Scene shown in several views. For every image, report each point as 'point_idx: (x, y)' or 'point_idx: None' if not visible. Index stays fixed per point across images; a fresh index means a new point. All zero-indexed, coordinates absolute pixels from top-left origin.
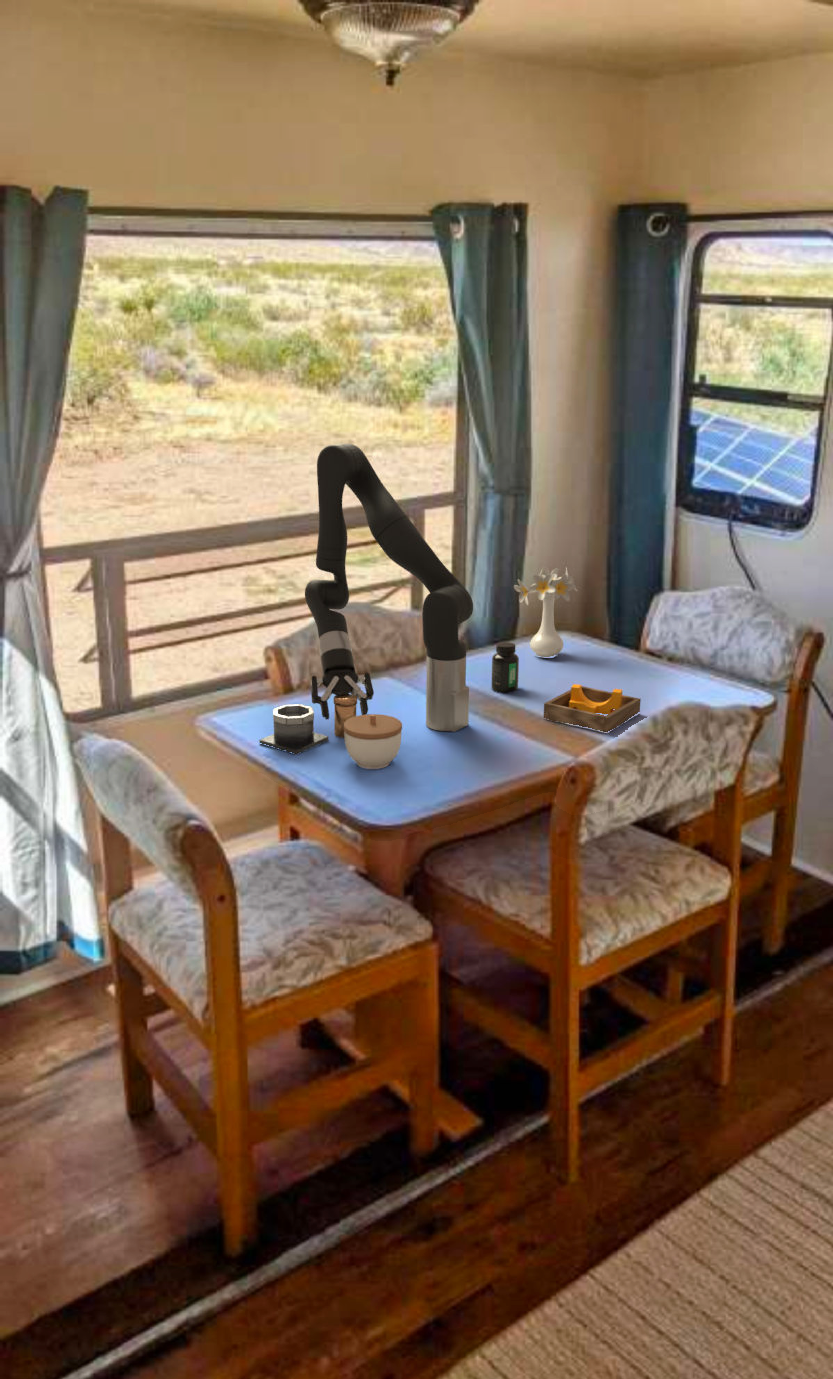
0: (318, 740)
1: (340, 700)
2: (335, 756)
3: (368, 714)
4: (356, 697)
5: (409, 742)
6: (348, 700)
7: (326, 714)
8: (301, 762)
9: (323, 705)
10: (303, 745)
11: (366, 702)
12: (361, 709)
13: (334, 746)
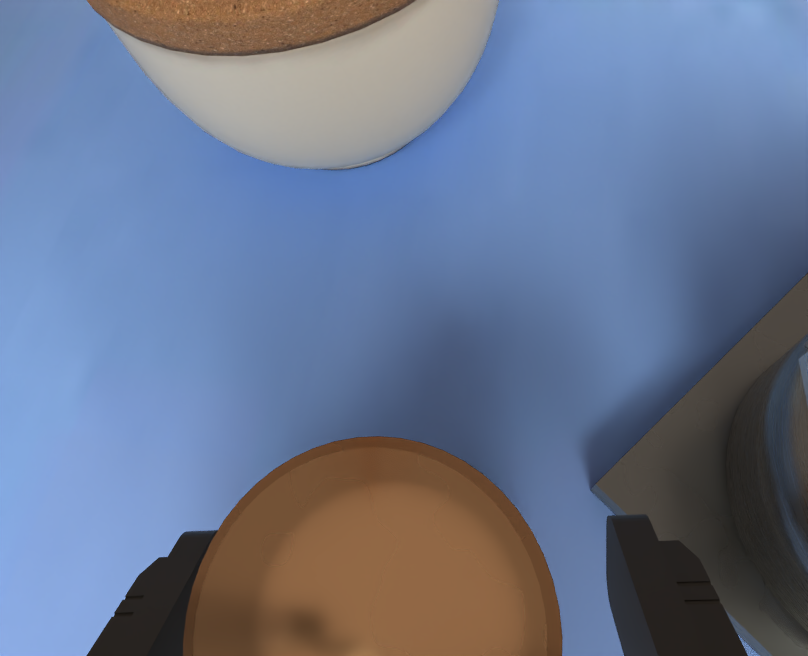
0: (682, 405)
1: (462, 483)
2: (553, 196)
3: (242, 1)
4: (195, 612)
5: (43, 359)
6: (345, 466)
7: (646, 517)
8: (782, 129)
9: (712, 641)
10: (805, 316)
11: (97, 651)
12: None
13: (548, 362)
